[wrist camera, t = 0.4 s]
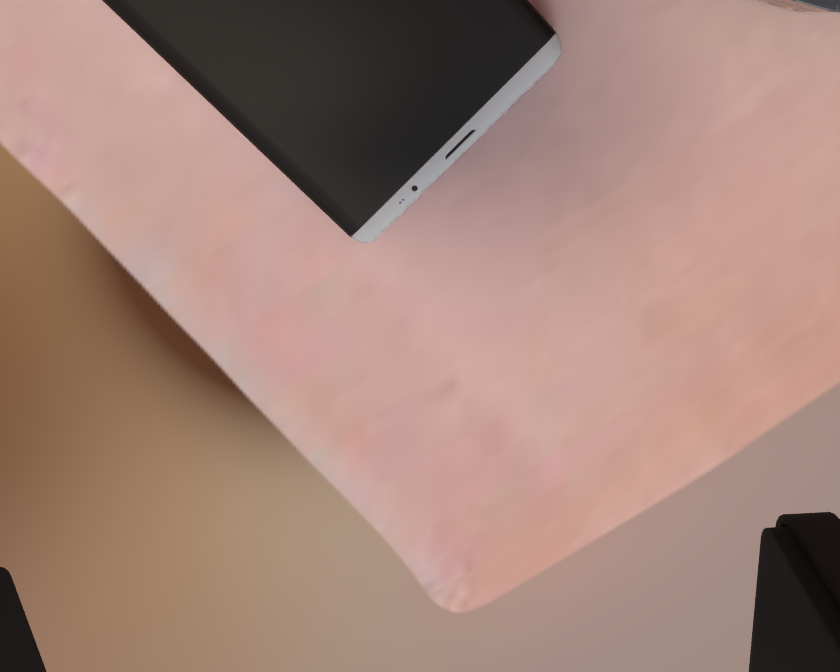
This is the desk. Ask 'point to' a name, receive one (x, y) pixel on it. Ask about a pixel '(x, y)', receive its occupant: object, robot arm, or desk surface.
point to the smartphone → (354, 85)
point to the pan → (808, 5)
